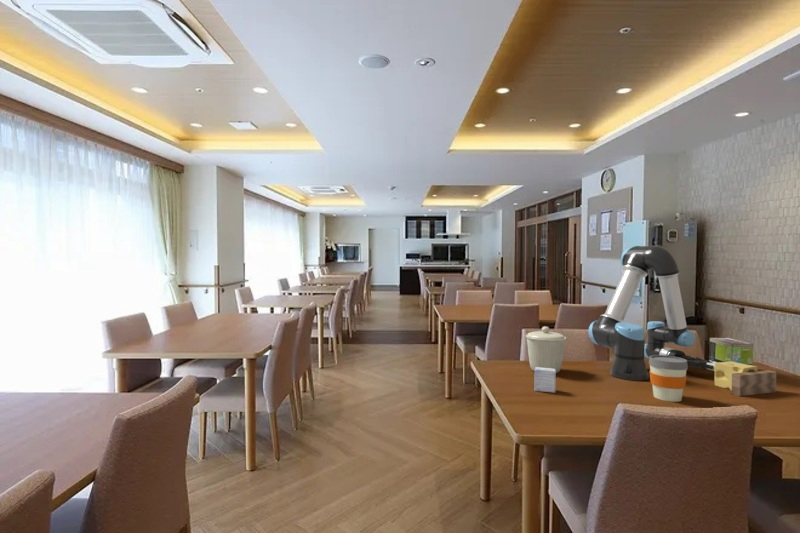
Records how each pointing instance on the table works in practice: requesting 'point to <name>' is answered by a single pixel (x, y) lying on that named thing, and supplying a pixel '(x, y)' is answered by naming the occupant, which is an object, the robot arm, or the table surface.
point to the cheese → (729, 372)
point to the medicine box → (545, 379)
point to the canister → (545, 349)
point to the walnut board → (753, 383)
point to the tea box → (730, 351)
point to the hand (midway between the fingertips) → (722, 369)
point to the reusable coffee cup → (668, 377)
